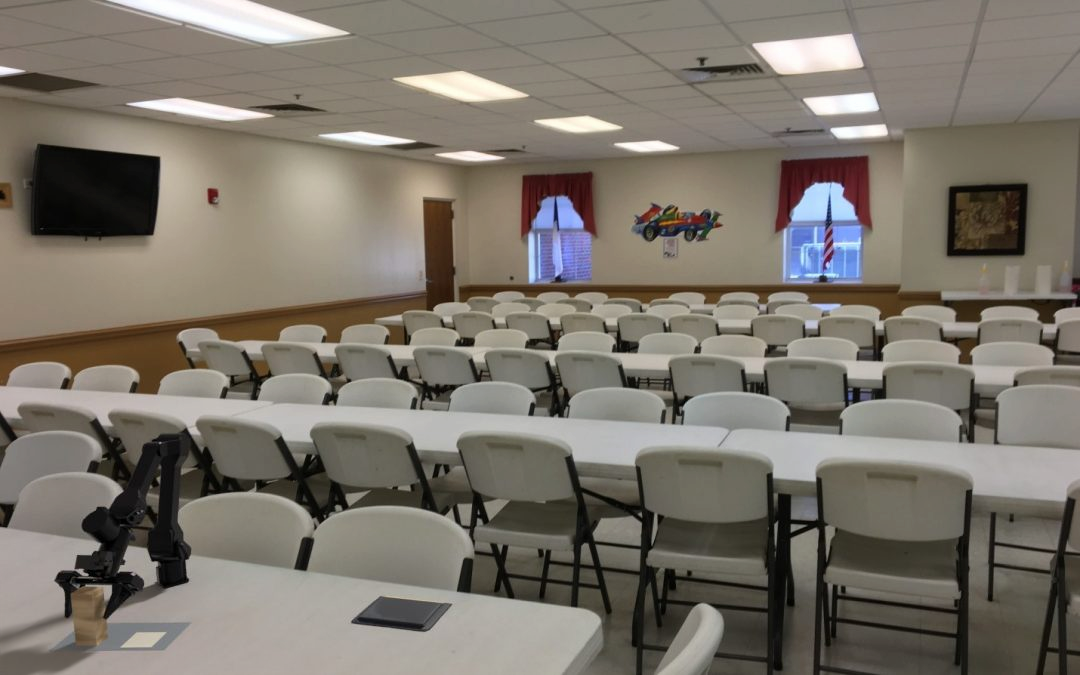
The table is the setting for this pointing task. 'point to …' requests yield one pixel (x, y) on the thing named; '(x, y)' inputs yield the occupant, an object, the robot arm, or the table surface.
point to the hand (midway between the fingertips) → (85, 618)
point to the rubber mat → (130, 637)
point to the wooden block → (89, 616)
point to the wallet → (402, 613)
